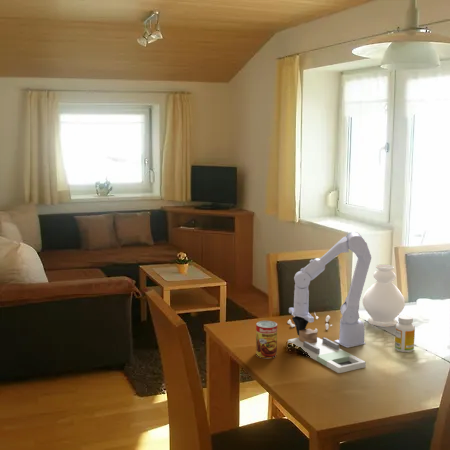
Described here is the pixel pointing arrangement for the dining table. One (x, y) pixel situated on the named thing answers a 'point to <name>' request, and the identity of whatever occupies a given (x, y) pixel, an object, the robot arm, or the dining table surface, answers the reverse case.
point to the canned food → (266, 338)
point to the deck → (330, 355)
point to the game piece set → (315, 318)
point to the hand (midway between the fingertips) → (300, 334)
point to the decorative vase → (383, 298)
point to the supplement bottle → (404, 334)
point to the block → (308, 335)
